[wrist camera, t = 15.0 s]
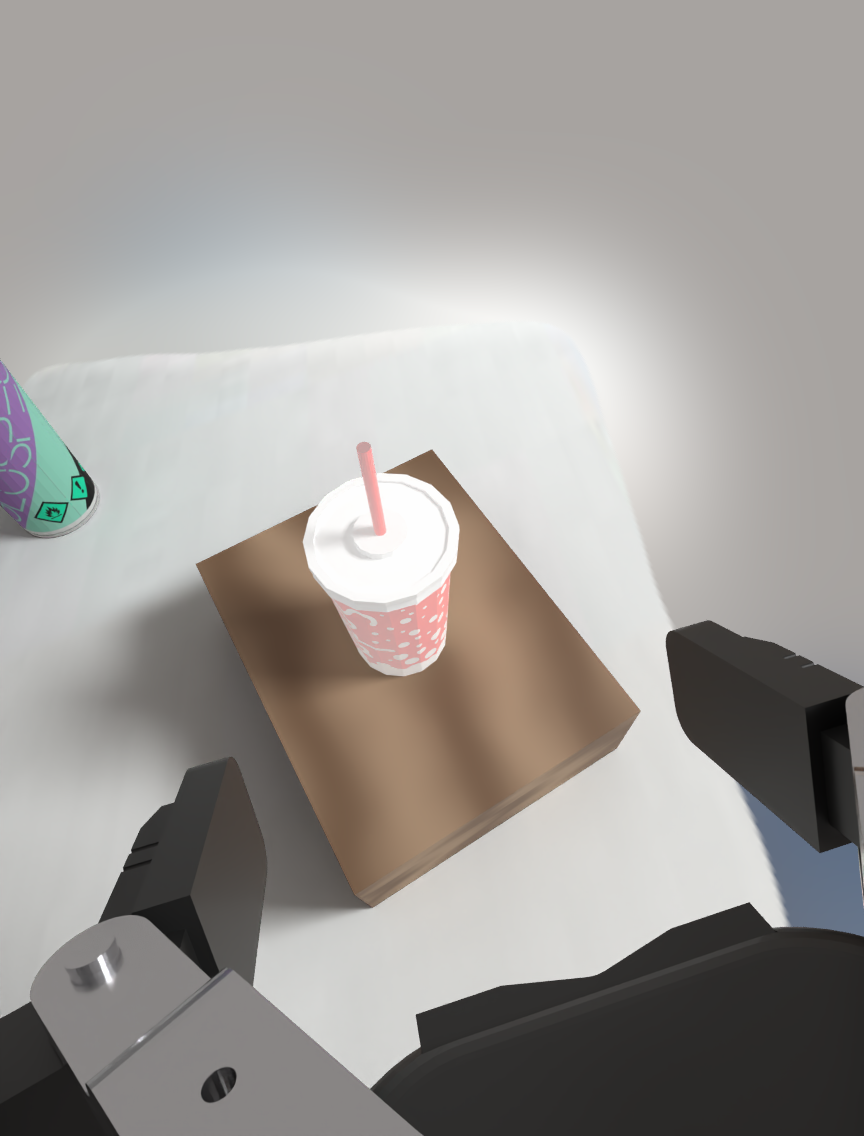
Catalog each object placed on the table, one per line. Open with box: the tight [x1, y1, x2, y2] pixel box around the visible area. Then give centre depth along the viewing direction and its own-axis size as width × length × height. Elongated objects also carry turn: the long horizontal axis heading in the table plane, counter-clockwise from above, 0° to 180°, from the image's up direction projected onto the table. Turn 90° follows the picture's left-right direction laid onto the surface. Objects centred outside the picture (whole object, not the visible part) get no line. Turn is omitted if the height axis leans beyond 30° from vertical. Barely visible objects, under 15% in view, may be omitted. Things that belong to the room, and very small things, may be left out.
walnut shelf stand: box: [196, 450, 640, 908], centre depth 36 cm, size 15×19×6 cm
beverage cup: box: [303, 442, 459, 676], centre depth 28 cm, size 6×6×14 cm
